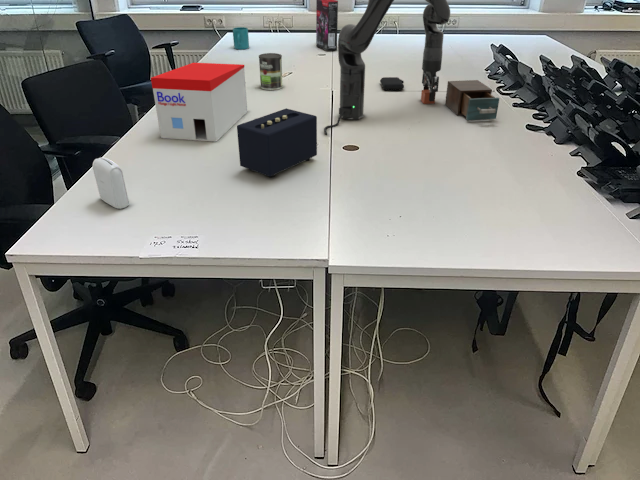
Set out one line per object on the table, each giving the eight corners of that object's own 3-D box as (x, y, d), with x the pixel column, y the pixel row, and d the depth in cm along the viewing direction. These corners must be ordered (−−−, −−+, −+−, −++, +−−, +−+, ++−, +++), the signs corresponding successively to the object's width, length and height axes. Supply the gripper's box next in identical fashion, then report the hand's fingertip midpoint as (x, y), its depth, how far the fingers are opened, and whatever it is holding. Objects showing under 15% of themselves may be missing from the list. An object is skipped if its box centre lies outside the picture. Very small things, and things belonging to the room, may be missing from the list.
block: (434, 103, 220) (435, 92, 218) (423, 103, 220) (424, 92, 217) (431, 100, 224) (432, 89, 222) (420, 100, 224) (421, 89, 221)
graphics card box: (315, 46, 322) (315, -3, 308) (325, 45, 325) (325, -3, 311) (327, 52, 309) (327, 1, 295) (338, 50, 311) (338, 0, 297)
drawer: (501, 122, 196) (505, 102, 192) (471, 124, 195) (474, 103, 191) (482, 108, 211) (485, 88, 207) (454, 109, 210) (457, 89, 206)
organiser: (488, 114, 208) (492, 89, 203) (457, 115, 206) (460, 90, 201) (474, 103, 220) (477, 79, 215) (445, 104, 219) (447, 81, 214)
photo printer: (98, 199, 145) (87, 156, 138) (112, 194, 147) (103, 152, 141) (117, 211, 139) (107, 167, 132) (132, 205, 141) (122, 162, 135)
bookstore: (160, 138, 186) (150, 77, 175) (199, 108, 215) (192, 55, 204) (216, 142, 182) (209, 80, 171) (247, 111, 212) (243, 57, 201)
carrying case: (406, 91, 236) (402, 82, 249) (407, 84, 234) (402, 76, 247) (382, 91, 236) (379, 83, 249) (383, 84, 234) (379, 76, 247)
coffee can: (275, 91, 237) (273, 58, 230) (256, 88, 241) (254, 56, 234) (287, 85, 245) (286, 54, 238) (268, 83, 249) (266, 52, 242)
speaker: (287, 150, 175) (286, 105, 168) (317, 159, 168) (317, 113, 161) (239, 170, 161) (235, 122, 153) (270, 181, 154) (267, 132, 146)
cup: (231, 50, 313) (229, 30, 307) (236, 46, 323) (234, 27, 318) (246, 50, 312) (245, 30, 307) (250, 46, 323) (249, 27, 317)
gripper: (447, 61, 207) (442, 102, 215) (436, 54, 219) (432, 93, 227) (428, 62, 206) (424, 103, 215) (418, 54, 218) (415, 94, 227)
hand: (428, 98), depth 221 cm, fingers open, 8 cm apart
